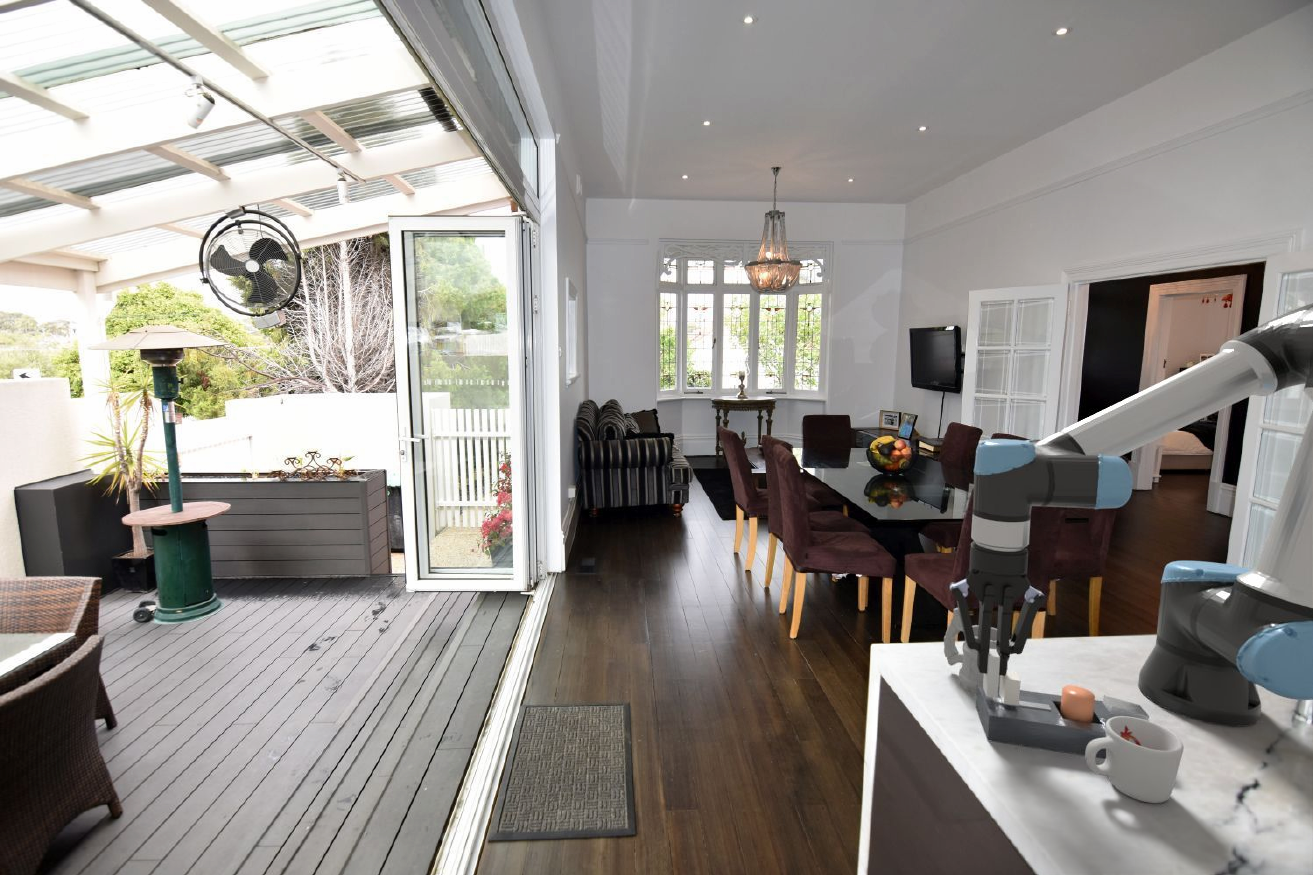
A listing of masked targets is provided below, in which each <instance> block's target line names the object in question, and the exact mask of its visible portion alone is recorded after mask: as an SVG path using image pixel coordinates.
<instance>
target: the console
mask: <svg viewBox="0 0 1313 875" xmlns="http://www.w3.org/2000/svg"><path fill="white" fill-rule="evenodd" d="M999 689H1000V687H998V698H993V697H987V696H986V694H985V691H984V689H983V685H978V684H977V696H975V697H976V699H975V710H976V712H977V715H978V717H979V720H980V724H981V726H982V729H983V731H984V734H985V736H986V739H987V741H989V742H995V743H1002V744H1008V745H1014V746H1021V747H1027V748H1028V747H1029V748H1034V749H1039V750H1040V749H1041V750H1047V751H1053V752H1061V753H1066V754H1071V755H1072V754H1073V755H1077V756H1084V757H1085V752H1086V747H1087V745H1088V744H1089V742H1091V741H1092V740H1094V739H1098V738H1105V737H1106V730H1105V725H1106V722H1107V720H1108V719H1110V718H1112V717H1117V716H1119V715H1115V714H1112V713H1110V712H1109V711H1108V709H1107V708H1106V707H1105V705H1104V704H1103V703H1102V701H1103V700H1099V699H1097V700H1096V699H1095V702H1094V713H1093V723H1089V722H1082V721H1075V720H1068V719H1063V718H1062V716H1061V715H1060V710H1061V698H1062V694H1061V695H1059V694H1052V693H1043V692H1037V691H1029V690H1023V689H1022V690H1021V689H1020V697H1019V706H1016V705H1009V704H1004V703H1003V701H1002V699H1001V696H1000V694H999ZM1095 758H1097V759H1105V760H1106V749H1101V750H1099V751H1098V752H1097V754H1096V757H1095Z"/></svg>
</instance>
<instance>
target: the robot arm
mask: <svg viewBox="0 0 1313 875" xmlns="http://www.w3.org/2000/svg"><path fill="white" fill-rule="evenodd" d="M1299 385H1304V388H1303V389H1302V390H1303V392H1304V393H1305V395H1307V397H1308V398H1309V400H1311V402H1313V303H1310V304H1309V303H1308V304H1306V305H1303V306H1301V307H1298V308H1296V309H1293V310H1291V311H1288V312H1286V313H1284V314H1282V315H1280V316H1277V317H1275V318H1273V319H1270V320H1268V321H1267V322H1265V323H1263V324H1260V325H1259V326H1257V327H1255V328H1252V329H1251V330H1248V331H1247V332H1244V333H1243V334H1241V335H1238V336H1236V337H1234V338H1232V339H1229V340H1228V341H1226V342H1224V343H1223V344H1222V345H1221V346H1220V349H1219V353H1217V354H1215V355H1214V356H1211V357H1209V358H1206V359H1205V360H1203V361H1201V362H1198V363H1197V364H1195V365H1193V366H1191V367H1189V368H1186V369H1185V370H1182V371H1181V372H1178V373H1176V374H1174V375H1172V376H1170V377H1168V378H1166V379H1164V380H1162V381H1160V382H1158V383H1155V384H1154V385H1151V386H1150V387H1148V388H1145V389H1144V390H1142V391H1139V392H1138V393H1136V394H1134V395H1131V396H1129V397H1127V398H1125V399H1123V400H1122V401H1119V402H1117V403H1115V404H1113V405H1110V406H1109V407H1107V408H1105V409H1102V410H1101V411H1099V412H1096V413H1095V414H1093V415H1090V416H1089V417H1086V418H1084V419H1082V420H1080V421H1078V422H1076V423H1074V424H1072V425H1070V426H1068V427H1066V428H1064V429H1062V430H1059V431H1057V432H1055V433H1053V434H1050V435H1049V436H1047V437H1045V438H1042V439H1039V438H1038V439H1035V438H1034V439H1027V440H1022V439H1021V440H1020V439H1009V438H1008V439H1007V438H990V439H985V440H982V441H981V442H980V443H979V444H978V445H977V447H976V453H975V459H974V460H975V462H974V468H973V473H974V474H973V476H974V477H973V504H972V505H973V506H972V518H971V521H972V522H971V533H970V534H971V535H970V538H971V539H972V540H973V541H972V542H971V543H970V549H969V550H970V551H969V568H968V571H967V572H966V574H965V576H964V579H962V580H960V581H958V582H955V581H954V582H953V581H952V582H950V583H949V585H948V587H949V589H950V592H951V594H952V596H953V597H954V599H955V600H956V604H957V608H958V610H959V614H960V619H961V623H962V628H963V631H962V632H963V635H964V636H963V637H964V641H965V640H966V643H967V645H968V647H969V648H970V649H975V650H977V651H978V655H977V667H978V669H979V672H980V673H984V678H983V689H984V691H985V694H986V696H987V697H993V698H998V683H999V675H1002V676H1005V675H1006V673H1007V659H1009V660H1010V658H1011V656H1010V655H1013V654H1014V655H1015V654H1016V655H1021V654H1022V653H1023V651H1024V648H1025V646H1026V644H1027V640H1028V638H1029V635H1030V632H1031V629H1032V626H1033V625H1034V621H1035V618H1036V615H1037V613H1038V611H1039V609H1041V607H1042V606H1043V605H1044V604H1045V603H1046V602H1047V597H1046V596H1045V594H1044V593H1043V592H1042V590H1040V589H1036V588H1034V587H1032V586H1031V583H1030V580H1029V579H1028V563H1029V562H1028V561H1029V560H1028V558H1029V549H1027V547H1028V545H1030V534H1031V533H1030V532H1031V531H1030V529H1031V519H1032V518H1031V517H1032V509H1033V508H1032V507H1050V508H1051V507H1052V508H1077V509H1081V508H1082V509H1094V510H1099V509H1101V510H1102V509H1118V508H1120V507H1123V506H1124V505H1125V504H1127V502H1128V501H1129V500H1130V498H1131V495H1132V492H1133V485H1134V480H1133V473H1132V469H1131V468H1130V465H1129V464H1128V463H1127V462H1126V461H1125V459H1123V458H1122V457H1121V456H1123V455H1125V454H1128V453H1130V452H1132V451H1134V450H1138V449H1139V448H1141V447H1143V446H1145V445H1147V444H1149V443H1152V442H1154V441H1156V440H1159V439H1160V438H1162V437H1165V436H1166V435H1169V434H1171V433H1173V432H1176V431H1178V430H1179V429H1181V428H1183V427H1186V426H1188V425H1191V424H1193V423H1196V422H1198V421H1200V420H1202V419H1204V418H1206V417H1208V416H1210V415H1212V414H1215V413H1217V412H1219V411H1221V410H1223V409H1225V408H1228V407H1229V406H1231V405H1234V404H1236V403H1239V402H1240V401H1242V400H1244V399H1247V398H1249V397H1251V396H1257V397H1267V396H1270V395H1273V394H1275V393H1277V392H1278V391H1281V390H1283V389H1287V388H1290V387H1294V386H1299ZM1305 427H1306V428H1305V430H1304V433H1303V436H1302V439H1301V442H1300V443H1299V446H1298V450H1297V452H1296V456H1295V459H1294V461H1293V464H1292V466H1291V468H1290V472H1289V475H1288V476H1287V480H1286V483H1285V486H1284V488H1283V491H1282V494H1281V496H1280V500H1279V502H1278V505H1277V508H1276V511H1275V513H1274V515H1273V519H1272V521H1271V524H1270V527H1269V529H1268V532H1267V535H1266V539H1265V542H1264V544H1263V545H1262V546H1263V547H1262V549H1261V550H1260V554H1259V557H1258V560H1257V563H1256V565H1255V568H1253V569H1252V568H1248V567H1244V566H1237V565H1233V564H1229V563H1228V564H1227V563H1220V562H1219V563H1218V562H1213V561H1202V560H1176V561H1175V560H1174V561H1171V562H1169V563H1167V564H1166V565H1165V567H1164V570H1163V574H1162V578H1161V580H1160V584H1161V587H1160V588H1161V589H1160V596H1159V597H1160V601H1159V608H1158V619H1157V620H1158V621H1157V628H1156V629H1157V630H1156V638H1155V639H1156V640H1155V641H1156V642H1155V645H1154V647H1153V649H1152V650H1151V652H1150V654H1149V655H1148V657H1147V659H1146V660H1145V662H1144V664H1143V665H1142V667H1141V668H1140V671H1139V672H1138V673H1139V675H1138V682H1137V683H1138V689H1139V690H1140V692H1141V693H1142V694H1143V695H1145V697H1146V698H1148V699H1149V700H1150V701H1152V702H1153V703H1155V704H1157V705H1159V706H1160V707H1163V708H1164V709H1166V710H1169V711H1171V712H1174V713H1175V714H1178V715H1181V716H1184V717H1186V718H1190V719H1192V720H1197V721H1201V722H1204V723H1208V724H1214V725H1220V726H1227V727H1247V726H1253V725H1256V724H1257V723H1259V721H1260V719H1261V714H1262V701H1261V698H1260V695H1259V691H1258V688H1257V685H1258V686H1260V687H1262V688H1263V689H1265V690H1266V691H1268V692H1270V693H1272V694H1274V695H1276V696H1279V697H1283V698H1286V699H1290V700H1297V701H1313V410H1312V411H1311V413H1310V416H1309V420H1308V422H1307V425H1306V426H1305ZM968 589H970V590H971V592H972V593H973V594H974V595H975V597H976V598H977V599H978V601H979V602H978V604H979V608H978V609H979V611H978V612H979V614H978V625H979V626H978V639H976V638H975V636H974V632H973V627H972V626H973V623H972V619H971V615H970V610H969V606H968V601H967V599H966V597H968V595H969V591H968ZM1023 595H1024V602H1023V604H1022V607H1021V610H1020V612H1019V615H1018V618H1017V620H1016V623H1015V626H1014V629H1013V631H1012V634H1011V625H1012V623H1011V622H1012V621H1011V620H1012V614H1013V606H1014V604H1016V603H1017V601H1019V599H1021V598H1022V596H1023ZM994 606H997V607H998V608H997V624H996V625H997V626H996V629H997V639H996V647H997V650H996V649H990V634H991V627H992V616H993V611H994Z"/></svg>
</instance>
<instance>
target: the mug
mask: <svg viewBox="0 0 1313 875" xmlns="http://www.w3.org/2000/svg"><path fill="white" fill-rule="evenodd" d="M978 626H979V624H978V625H977V624H975V625H972V627H973V632H974V636H975V638H976V639H978ZM960 632H963V628H962V623H961V619H960V614H959V610H958V607H956V608H954V609H953V613H952V618H951V619H950V622H949V625H948V627H947V630H946V632H945V635H944V637H943V652H944V657H945V658H946V660H947V663H948V665H949V666H954V665H956V664H957V663H958V664H959V663H961V668H960V669H959V671H958V676H959V679H960V686H961V687H962V689H964V690H965V692H970V693H971V694H972V695H974V696H975V697H977V684H978V685H983V678H984V673H980V672H979V669H978V667H977V655H978V651H977V650H975V649H970V648H969V647H968V645H967V643H966V640H965V639H964V642H963V643H962V648H961V649H962V652H963V653H960V651H959V650H958V648H957V646H956V637H957V635H958V634H959V633H960ZM996 639H997V628H995V627H992V626H991V634H990V649H996V650H997V647H996ZM1009 660H1010V658H1009V659H1007V670H1009V669H1008V666H1009V665H1008V663H1009ZM998 687H1000V675H999V683H998Z"/></svg>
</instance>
